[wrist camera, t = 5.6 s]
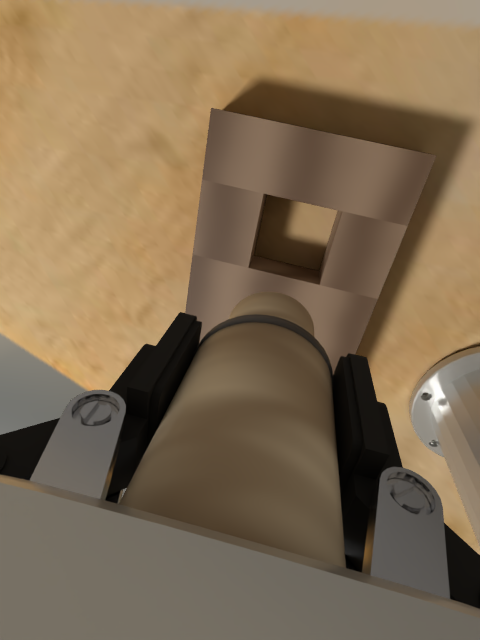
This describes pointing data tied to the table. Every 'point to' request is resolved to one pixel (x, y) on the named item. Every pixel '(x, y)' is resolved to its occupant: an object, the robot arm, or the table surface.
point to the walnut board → (308, 187)
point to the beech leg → (251, 436)
